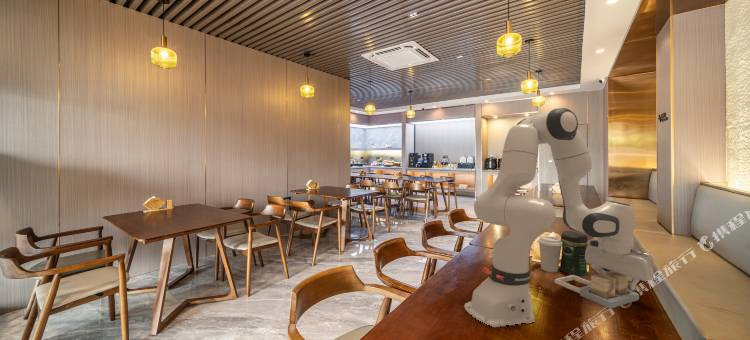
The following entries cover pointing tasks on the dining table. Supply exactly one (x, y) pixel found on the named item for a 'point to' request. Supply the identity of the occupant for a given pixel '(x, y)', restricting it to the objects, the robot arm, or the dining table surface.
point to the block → (619, 282)
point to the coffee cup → (550, 253)
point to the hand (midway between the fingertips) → (615, 283)
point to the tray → (563, 283)
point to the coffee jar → (573, 253)
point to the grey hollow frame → (613, 301)
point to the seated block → (603, 286)
